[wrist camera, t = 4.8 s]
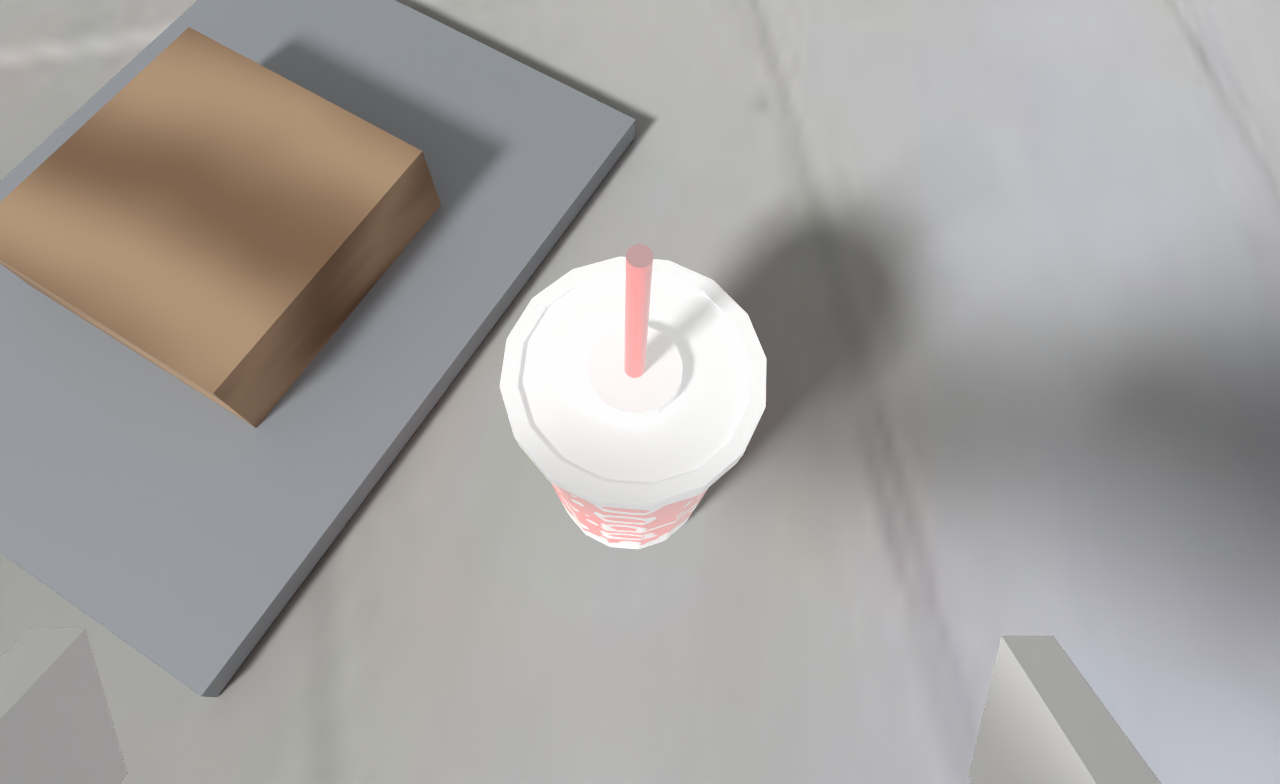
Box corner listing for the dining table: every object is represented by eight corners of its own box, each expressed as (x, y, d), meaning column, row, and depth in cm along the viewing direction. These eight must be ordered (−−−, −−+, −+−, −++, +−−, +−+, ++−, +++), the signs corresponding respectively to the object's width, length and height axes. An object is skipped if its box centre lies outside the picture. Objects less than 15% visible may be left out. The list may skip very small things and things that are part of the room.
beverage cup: (511, 543, 26) (404, 368, 13) (568, 374, 28) (525, 80, 15) (697, 597, 26) (777, 469, 13) (741, 419, 28) (847, 156, 15)
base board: (276, -43, 35) (267, -64, 34) (635, 136, 32) (635, 119, 31) (-199, 401, 27) (-228, 390, 26) (217, 697, 24) (201, 696, 23)
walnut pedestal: (238, 106, 32) (189, 26, 29) (446, 220, 31) (422, 150, 27) (47, 298, 29) (-37, 236, 25) (268, 438, 27) (213, 393, 24)
